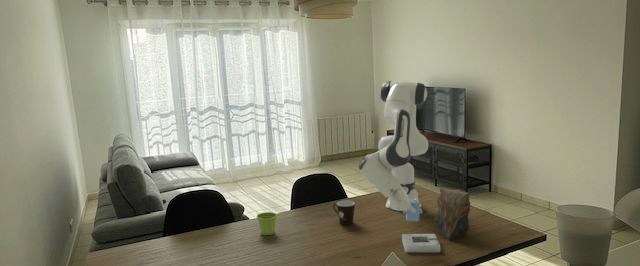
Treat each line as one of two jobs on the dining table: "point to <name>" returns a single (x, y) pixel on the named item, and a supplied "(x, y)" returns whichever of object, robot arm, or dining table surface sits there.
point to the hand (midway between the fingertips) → (414, 209)
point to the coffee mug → (345, 212)
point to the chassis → (420, 243)
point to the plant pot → (267, 222)
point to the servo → (410, 215)
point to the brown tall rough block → (452, 213)
